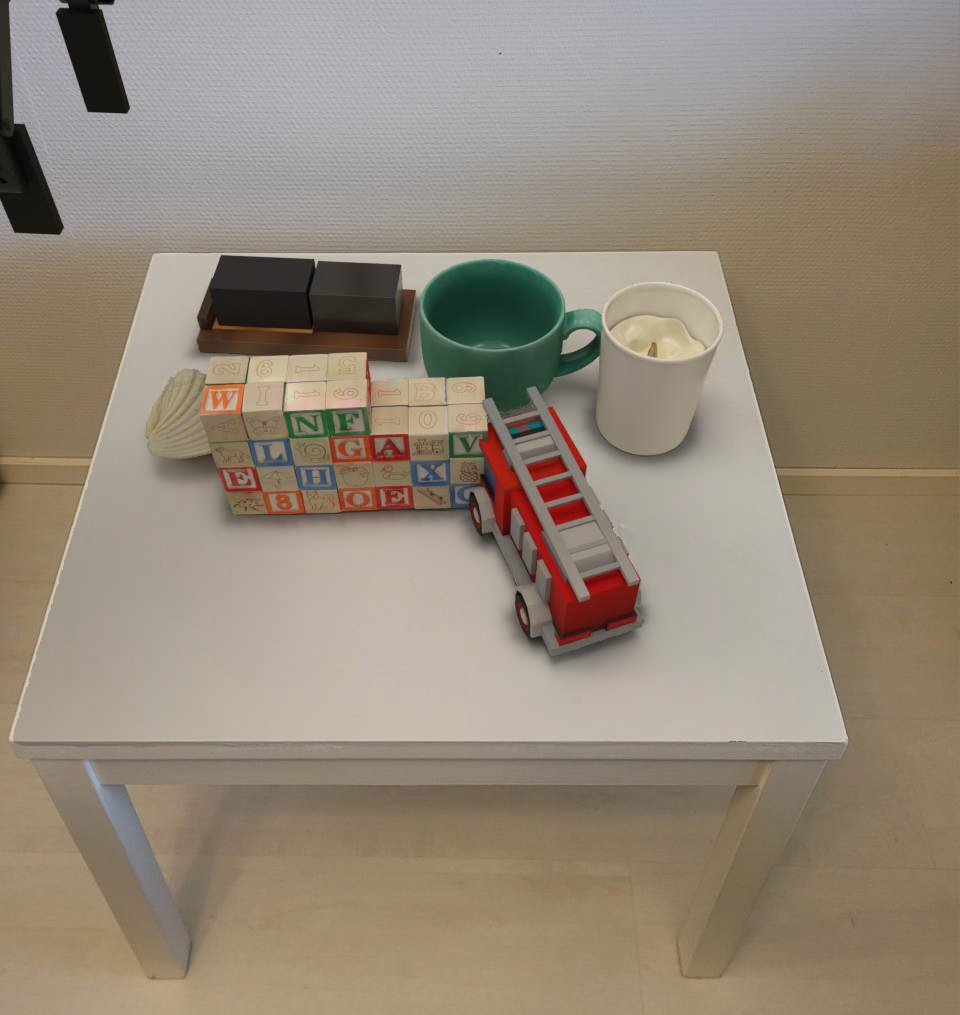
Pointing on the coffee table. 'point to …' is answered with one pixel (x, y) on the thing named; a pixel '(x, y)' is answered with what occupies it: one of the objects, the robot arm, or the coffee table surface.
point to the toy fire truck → (553, 532)
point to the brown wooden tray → (330, 317)
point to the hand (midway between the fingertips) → (76, 166)
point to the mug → (501, 329)
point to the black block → (263, 292)
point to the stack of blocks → (340, 435)
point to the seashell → (178, 418)
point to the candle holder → (653, 364)
